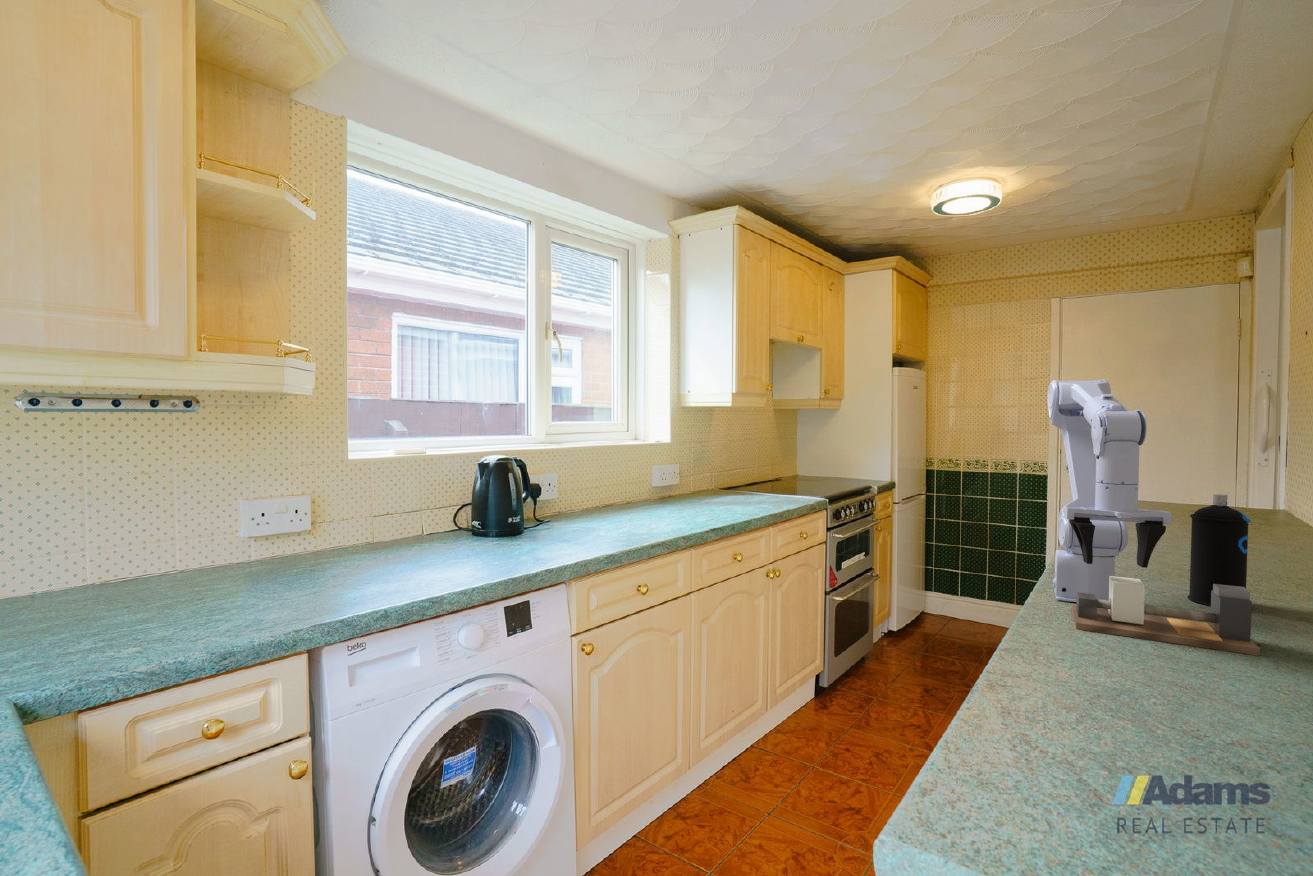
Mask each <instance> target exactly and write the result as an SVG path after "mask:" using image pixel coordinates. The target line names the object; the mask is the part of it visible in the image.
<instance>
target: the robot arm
mask: <svg viewBox="0 0 1313 876" xmlns="http://www.w3.org/2000/svg"><path fill="white" fill-rule="evenodd" d="M1046 397H1047V403H1046V404H1047V409H1048V416H1049V419H1050V423H1051V425H1053V426H1054V427H1055V428H1058V429H1059V430H1060V432H1061V437H1062V440H1063V443H1064V451H1065V457H1066V464H1067V471H1068V478H1069V484H1070V491H1071V497H1072V498H1071V499H1072V501H1071V502H1069V503H1067V504H1066V505H1064V506H1063V507H1062V508H1060V511H1059V513H1058V517H1057V518H1058V519H1057V520H1058V526H1057V534H1058V536H1057V537H1058V540H1059V541H1058V542H1059V544H1060V546H1062V548H1064V549H1056V550H1055V557H1054V578H1052V588H1053V591H1054V596H1055V600H1058V601H1063V602H1064V601H1065V602H1070V603H1071V602H1072V603H1077V592H1080V593H1088V594H1095V596H1096V598H1097V599H1101V600H1109V576H1116V557H1119V556H1120V553H1122V552H1123V551H1125V549H1126V548H1127V547H1128V543H1129V531H1128V530H1129V529H1128V527H1127V523H1126V522H1128V523H1129V522H1130V523H1135V530H1136V537H1137V538H1136V539H1137V548H1136V549H1137V551H1136V565H1137V566H1139V567H1141V568H1145V569H1147V568H1148V566H1149V562H1150V560H1151V556H1152V554H1153V551H1154V550H1155V547H1156V545H1157V544H1158V543H1159V541H1160V539H1161V538H1162V537H1163V535H1164V534H1165V533H1166V530H1167V526H1166V525H1172V515H1173V514H1172V512H1170V511H1166V510H1154V509H1153V510H1152V509H1140V508H1138V507H1139V482H1140V480H1139V479H1140V478H1139V476H1140V475H1139V473H1140V472H1139V471H1140V446H1143V444H1144V443H1145V441H1146V437H1147V432H1148V431H1147V430H1148V429H1147V426H1148V425H1147V419H1146V415H1145V413H1144V412H1143V410H1142V409H1135V410H1130V411H1129V410H1128V409H1127V408H1126V406H1124V405H1123V404H1122V402H1120V401H1119V400H1118V399H1117V398H1115V397H1114V395H1113V394H1112V390H1111V384H1110V383H1109V382H1108V380H1107V379H1104V378H1102V379H1097V380H1095V379H1093V380H1082V379H1081V380H1057V379H1053V380H1052V381H1051V382H1050V383H1049V384H1048V387H1047V396H1046Z"/></svg>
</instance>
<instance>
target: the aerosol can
mask: <svg viewBox="0 0 1313 876" xmlns="http://www.w3.org/2000/svg"><path fill="white" fill-rule="evenodd" d="M1212 495H1213V497H1212V504H1211V505H1208V506H1205V507H1201V508H1198V509H1197V510H1196V511H1194V512H1193V513H1191V514H1190V518H1191V531H1190V532H1191V533H1190V535H1191V537H1190V542H1191V543H1190V562H1189V563H1190V566H1189V567H1190V568H1189V569H1190V570H1189V594H1188V595H1187V599H1188V600H1189V601H1191V602H1193V603H1196V604H1200V605H1202V604H1203V605H1202V606H1207V607H1211V590H1213V584H1220V585H1229V586H1239V587H1244V588H1246V589H1247V577H1248V575H1247V574H1248V571H1247V570H1248V546H1249V545H1248V544H1249V523H1251V519H1250V518H1247V516H1246V515H1245V514H1244V513H1243V512H1242V511H1240V510H1237V509H1235V508H1232V507H1230V506H1229V505H1228V498H1229V497H1228V496H1229V495H1228V494H1222V493H1221V494H1220V493H1213V494H1212Z"/></svg>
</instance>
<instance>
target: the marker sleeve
mask: <svg viewBox="0 0 1313 876" xmlns="http://www.w3.org/2000/svg"><path fill="white" fill-rule="evenodd" d="M1145 592H1146V591H1145V585H1144V583H1143V582H1142V580H1141V579H1140V578H1133V577H1126V576H1124V577H1123V576H1116V575H1115V576H1109V601H1112V605H1111V609H1108V610H1109V614H1110V616H1111V618H1112V620H1114V621H1122V622H1129V623H1136V624H1144V605H1145Z"/></svg>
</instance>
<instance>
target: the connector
mask: <svg viewBox="0 0 1313 876" xmlns="http://www.w3.org/2000/svg"><path fill="white" fill-rule="evenodd" d="M1250 594H1251V591H1249V590H1248V589H1247V587H1246V588H1244V587H1239V586H1229V585H1220V584H1213V590H1211V606H1210V613H1214V614H1216V623H1211V622H1209V623H1210V627H1211V628H1212V629H1213V630H1214V631H1215V633H1216V634H1217V635H1218V636H1219V637H1220V638H1227V639H1234V640H1241V641H1248V642H1250V640H1251V635H1252V634H1251V633H1252V632H1251V631H1252V609H1253V608H1252V607H1253V606H1252V605H1253V604H1252V603H1253V601H1252V600H1251V599H1250V598H1251V595H1250Z"/></svg>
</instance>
